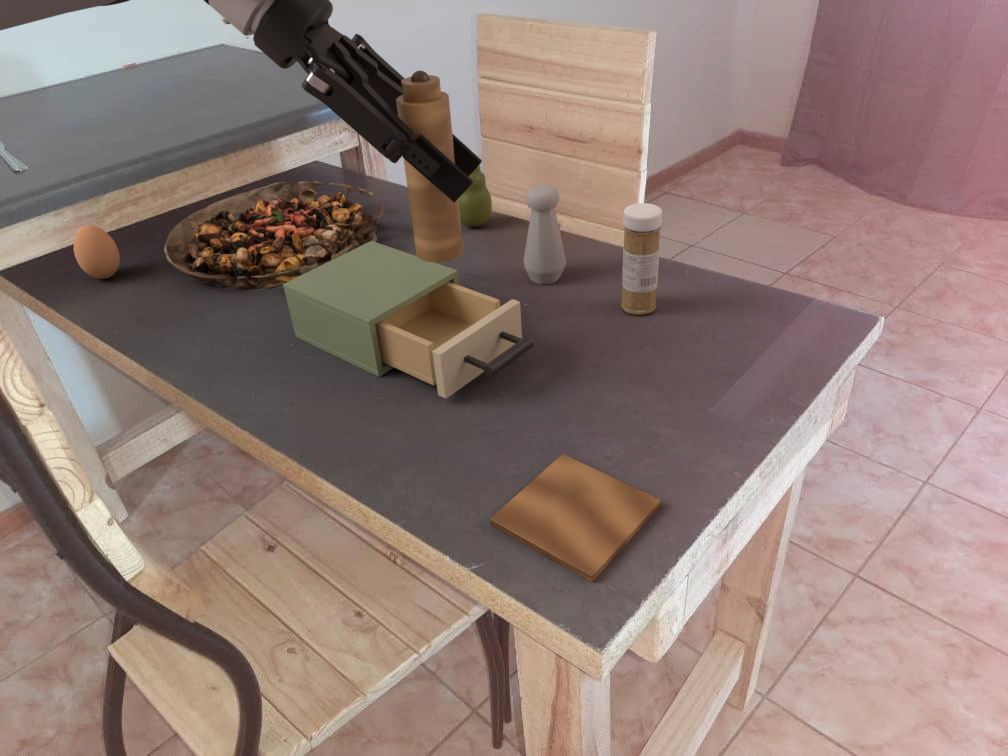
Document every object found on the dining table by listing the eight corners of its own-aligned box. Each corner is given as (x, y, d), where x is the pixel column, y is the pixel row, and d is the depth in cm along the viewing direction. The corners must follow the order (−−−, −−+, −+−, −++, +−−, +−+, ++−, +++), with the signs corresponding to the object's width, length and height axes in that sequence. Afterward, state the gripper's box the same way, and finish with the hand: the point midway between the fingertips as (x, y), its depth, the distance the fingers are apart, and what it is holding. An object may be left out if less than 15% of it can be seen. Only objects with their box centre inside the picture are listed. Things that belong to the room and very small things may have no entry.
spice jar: (651, 297, 102) (657, 200, 94) (660, 314, 98) (667, 214, 90) (616, 300, 101) (619, 203, 94) (624, 318, 98) (628, 218, 90)
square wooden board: (592, 582, 64) (592, 576, 63) (490, 524, 70) (489, 518, 69) (660, 506, 70) (661, 499, 70) (562, 459, 76) (562, 453, 76)
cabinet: (463, 323, 99) (457, 270, 95) (379, 377, 90) (368, 321, 86) (380, 290, 108) (371, 240, 103) (295, 337, 99) (282, 284, 94)
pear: (471, 235, 121) (466, 173, 115) (451, 226, 124) (445, 165, 118) (499, 224, 123) (495, 163, 118) (478, 215, 127) (473, 155, 121)
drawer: (551, 355, 90) (550, 312, 87) (475, 413, 82) (471, 367, 79) (435, 310, 100) (429, 269, 97) (357, 357, 92) (348, 315, 89)
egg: (80, 277, 116) (59, 226, 112) (119, 264, 119) (100, 214, 115) (92, 290, 113) (71, 237, 108) (132, 276, 116) (113, 224, 111)
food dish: (418, 264, 116) (411, 216, 111) (192, 330, 105) (173, 280, 100) (345, 185, 141) (337, 143, 136) (157, 231, 130) (141, 188, 125)
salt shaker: (573, 273, 108) (572, 183, 101) (553, 291, 105) (551, 199, 97) (537, 264, 111) (534, 177, 104) (516, 282, 107) (511, 192, 100)
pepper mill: (440, 266, 79) (419, 80, 69) (406, 255, 82) (381, 73, 72) (473, 248, 83) (457, 67, 72) (439, 238, 85) (419, 62, 75)
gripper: (288, 21, 80) (460, 174, 87) (212, 63, 65) (427, 244, 72) (328, -40, 76) (504, 126, 83) (257, -10, 61) (479, 189, 68)
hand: (468, 180), depth 77 cm, fingers closed on pepper mill, 5 cm apart
